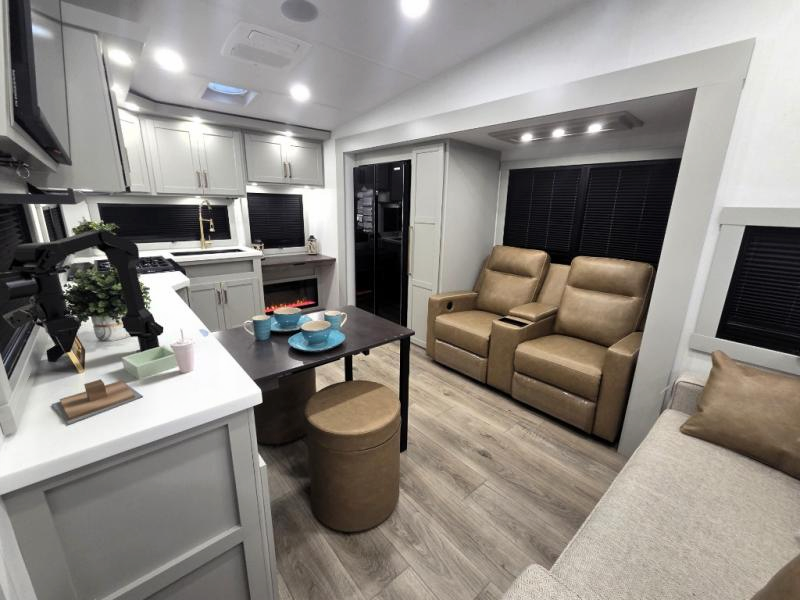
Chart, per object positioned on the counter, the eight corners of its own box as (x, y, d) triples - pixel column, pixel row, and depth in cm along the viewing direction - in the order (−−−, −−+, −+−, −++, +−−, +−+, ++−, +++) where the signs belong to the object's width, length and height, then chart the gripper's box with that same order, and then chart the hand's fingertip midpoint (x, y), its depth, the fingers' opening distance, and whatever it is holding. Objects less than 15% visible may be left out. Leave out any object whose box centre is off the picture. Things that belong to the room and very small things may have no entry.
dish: (124, 370, 108) (121, 357, 107) (166, 357, 118) (163, 345, 117) (139, 380, 102) (136, 367, 100) (182, 366, 111) (180, 353, 110)
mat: (52, 405, 88) (51, 404, 88) (122, 382, 100) (121, 380, 100) (68, 425, 80) (68, 423, 80) (143, 397, 92) (142, 395, 92)
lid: (60, 401, 89) (55, 385, 88) (121, 382, 99) (118, 367, 98) (69, 420, 81) (64, 402, 80) (135, 397, 91) (131, 381, 90)
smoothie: (188, 376, 104) (180, 333, 100) (170, 374, 105) (162, 331, 101) (203, 366, 110) (196, 326, 106) (186, 365, 111) (179, 324, 107)
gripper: (-6, 294, 86) (12, 350, 90) (8, 305, 76) (27, 368, 80) (54, 286, 95) (68, 338, 99) (74, 295, 85) (88, 352, 89)
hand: (63, 348), depth 92 cm, fingers open, 9 cm apart
